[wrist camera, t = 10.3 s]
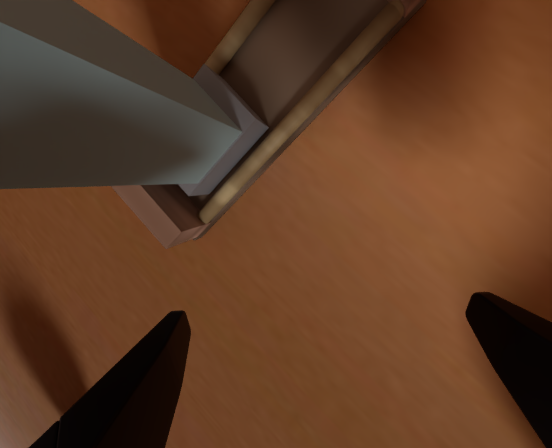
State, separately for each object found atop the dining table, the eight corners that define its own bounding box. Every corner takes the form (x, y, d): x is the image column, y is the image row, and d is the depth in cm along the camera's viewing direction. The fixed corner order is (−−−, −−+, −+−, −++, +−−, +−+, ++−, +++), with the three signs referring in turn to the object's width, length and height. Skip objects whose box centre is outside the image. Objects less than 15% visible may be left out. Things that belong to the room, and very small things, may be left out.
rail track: (337, -85, 15) (333, -193, 10) (425, 2, 14) (459, -74, 10) (142, 171, 21) (89, 169, 16) (201, 237, 20) (162, 253, 16)
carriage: (224, 79, 17) (-196, -261, 4) (269, 127, 16) (-16, -62, 4) (170, 150, 18) (-241, 82, 6) (209, 194, 18) (-125, 230, 5)
